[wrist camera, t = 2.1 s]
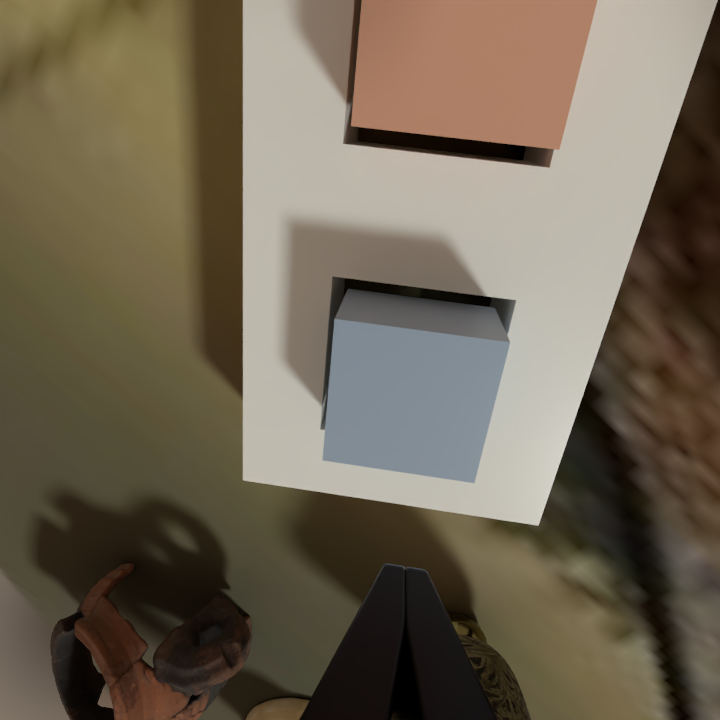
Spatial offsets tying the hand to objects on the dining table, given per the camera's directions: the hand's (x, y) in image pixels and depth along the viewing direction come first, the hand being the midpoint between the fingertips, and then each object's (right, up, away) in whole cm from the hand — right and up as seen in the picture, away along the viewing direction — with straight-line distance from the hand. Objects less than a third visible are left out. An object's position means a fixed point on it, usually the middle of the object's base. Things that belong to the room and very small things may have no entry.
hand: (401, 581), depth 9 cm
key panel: (+2, +10, +10) cm, 14 cm away
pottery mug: (-11, -11, +21) cm, 26 cm away
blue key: (+1, +4, +9) cm, 9 cm away
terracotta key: (+2, +13, +4) cm, 14 cm away
